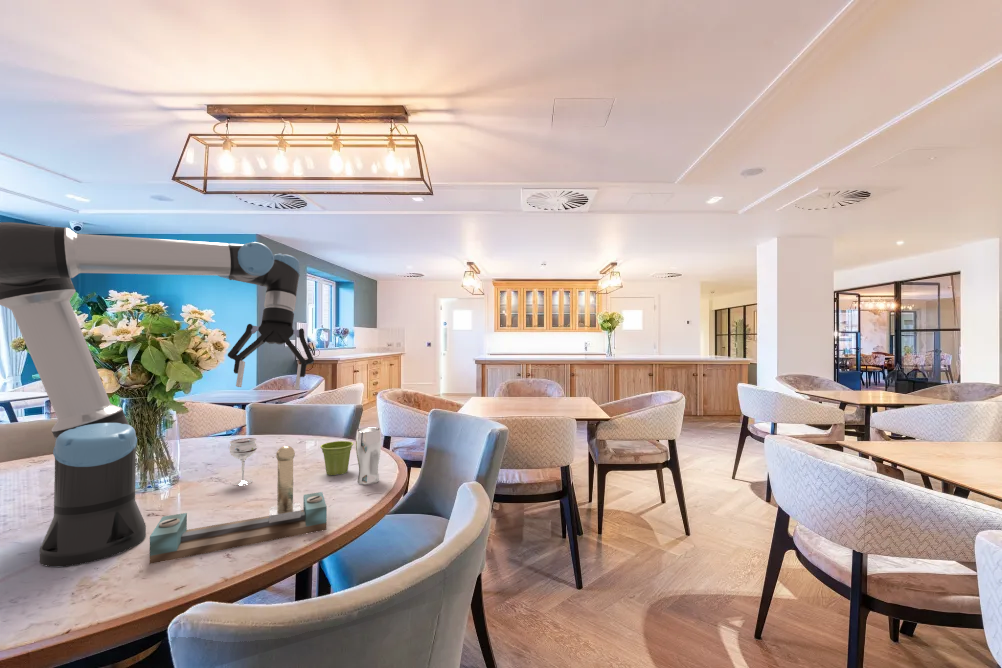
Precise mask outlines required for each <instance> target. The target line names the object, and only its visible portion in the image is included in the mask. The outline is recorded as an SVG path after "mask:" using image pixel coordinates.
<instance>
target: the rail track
mask: <svg viewBox="0 0 1002 668" xmlns="http://www.w3.org/2000/svg"><path fill="white" fill-rule="evenodd" d="M327 507H328V506H327V503H326V500H325V496H324V494H323V491H318V492H314V493H313V492H311V493H306V494H303V509H301V517H300V518H295V519H289V520H283V521H278V522H272V523H269V515H267V516H261V517H254V518H248V519H243V520H237V521H229V522H224V523H219V524H214V525H213V524H212V525H207V526H202V527H195V528H190V529H188V527H187V525H188V516H187V515H188V513H187V512H185V513H184V512H183V513H179V514H177V513H176V514H170V515H165V516H162V517H161V519H160V520H159V522H158V523H157V525H156V526H155V528H154V529H153V531H152V533H150V536H149V559H148V560H149V565H154V564H157V563H158V564H159V563H163V562H169V561H173V560H179V559H184V558H189V557H195V556H199V555H204V554H209V553H215V552H219V551H220V552H221V551H224V550H230V549H234V548H235V549H236V548H241V547H246V546H251V545H256V544H261V543H266V542H267V543H268V542H271V541H276V540H281V539H287V538H292V537H297V536H301V535H302V534H303V535H307V534H306V533H308V534H312V533H311V532H313V533H317V532H316V531H318V532H323V531H326V530H327V529H328V528H327V525H328V524H327V522H328V521H327ZM322 530H323V531H322Z"/></svg>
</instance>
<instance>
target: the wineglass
mask: <svg viewBox="0 0 1002 668" xmlns="http://www.w3.org/2000/svg"><path fill="white" fill-rule="evenodd" d="M256 441H257V438H254V437H245V438H243V437H242V438H237V439H233V440H230V441H229V444H230V445H229V453H230V455H231V456H232V457H233V458H235V459H238V460H239V461H240V462H241V477H242V478H241V480H238V481H234V482H233V483H232V485H233V484H234V485H233V486H236V485H239V486H244V485H243V484H246V485H248V484H247V483H250V482H252V479H245V464H246V463H245V462H246V460H247V459H248V458H250V457H251V456H253V454H254V453H256V451H257V448H258V447H257V446H258V445H257V442H256ZM252 483H253V482H252ZM250 484H251V483H250Z"/></svg>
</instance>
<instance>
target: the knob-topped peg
mask: <svg viewBox="0 0 1002 668" xmlns="http://www.w3.org/2000/svg"><path fill="white" fill-rule="evenodd" d="M295 454H296V452H295V449H294V448H293V447H292V446H290V445H284V446H281V447H279V448H278V449H277V451H276V454H275V457H276V460H277V490H276V491H277V495H276V497H277V499H276V500H277V502H276V503H277V505H275V506H270V507H269V512H268V513H269V514H268V516H269V523H272V522H278V521H283V520H289V519H295V518H300V517H301V510H302V508H301V502H295V503H294V458H295Z"/></svg>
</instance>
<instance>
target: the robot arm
mask: <svg viewBox="0 0 1002 668" xmlns="http://www.w3.org/2000/svg"><path fill="white" fill-rule="evenodd" d="M300 271H301V263H300V261H299V260H298V259H297V258H296V256H293V255H291V254H290V255H289V254H282V253H276V254H273V251H272V250H271V249H270V248H269V247H268V246H267V245H265V244H263V243H261V242H256V241H254V242H253V241H252V242H246V243H244V244H242V243H241V244H240V243H227V242H209V241H196V240H195V241H193V240H182V239H181V240H180V239H179V240H177V239H166V238H165V239H164V238H149V237H134V236H133V237H132V236H117V235H103V234H101V235H100V234H90V233H89V234H87V233H86V234H85V233H76V232H74V231H73V230H71V228H68V227H63V226H62V227H61V226H50V225H41V224H31V223H30V224H29V223H23V222H22V223H21V222H20V223H19V222H11V221H10V222H9V221H8V222H7V221H6V222H0V306H2V307H3V308H7V309H8V310H10V311H11V313H12V315H13V317H14V319H15V322H16V324H17V326H18V329H19V331H20V333H21V336H22V338H23V340H24V343H25V345H26V347H27V350H28V352H29V355H30V358H31V359H32V361H33V364H34V366H35V369H36V371H37V373H38V376H39V378H40V380H41V383H42V386H43V387H44V391H45V392H46V395H47V398H48V399H49V402H50V403H51V406H52V409H53V412H54V414H55V415H56V418H57V421H56V422H55V424H54V425H53V426H52V428H51V432H52V435H53V438H54V439H55V442H54V447H53V449H52V451H53V452H52V454H53V456H54V483H53V484H54V488H53V489H54V490H53V516H52V517H53V518H52V520H51V522H50V525H49V527H48V529H47V531H46V534H45V536H44V538H43V541H42V543H41V546H40V548H39V563H40V564H41V565H42V564H43V565H42V566H44V565H47V566H46V567H50V566H63V567H69V566H79V565H82V564H89V563H92V562H96V561H100V560H104V559H107V558H110V557H113V556H116V555H119V554H121V553H124V552H125V551H127V550H128V551H129V550H130V549H132V548H134V547H136V546H137V545H138V544H141V542H143V541H144V539H145V538H146V536H147V525H146V522H145V519H144V518H143V516H142V513H141V510H140V507H139V506H138V503H137V501H136V470H137V469H136V466H137V463H136V462H137V461H136V459H137V457H136V456H137V453H136V452H137V443H138V437H137V434H136V430H135V428H134V427H133V426H132V425H130V424H129V421H128V419H127V417H126V414H125V412H124V409H123V408H122V407H120V406H117V405H115V404H112V403H111V402H110V399H109V396H108V393H107V391H106V388H105V387H104V384H103V381H102V379H101V376H100V373H99V371H98V368H97V366H96V364H95V361H94V359H93V357H92V353H91V351H90V349H89V346H88V344H87V341H86V338H85V337H84V334H83V332H82V328H81V327H80V323H79V322H78V319H77V316H76V313H75V311H74V309H73V306H72V303H71V299H72V297H73V296H74V295H75V293H76V292H77V291H76V289H75V286H74V284H73V282H72V281H73V280H72V279H74V278H75V277H76V276H78V275H79V274H117V275H118V274H124V275H129V274H130V275H135V274H136V275H168V276H169V275H173V276H174V275H176V276H177V275H178V276H179V275H182V276H183V275H184V276H217V277H219V278H223V279H227V280H229V281H238V282H241V283H246V284H252V285H257V286H261V287H266V289H265V297H264V304H263V307H264V309H263V311H262V317H261V323H260V325H259V326H257V325H253V324H252V323H248V324H247V325H246V327H245V331H244V332H243V334H242V335H241V336H240V338H239V339H238V341H237V342H236V343H235V344H234V345H233V346H232V348H231V349H230V350H229V352H228V353H227V357H228V358H229V359H231V360H234V366H233V373H234V374H237V376H236V383H235V386H236V387H237V388H242V385H243V378H244V372H245V366H246V362H245V361H244V360H245V359H246V358H247V357H248V356H250V355H251V354H252V353H254V351H256V350H257V349H258V348H260V347H261V346H262V345H264V344H265V343H267V344H269V345H273V344H275V345H283V344H286V346H287V348H289V350H291V352H292V353H293V355H294V356H295V357H296V359H297V360H298V361H299V362H300V363H297V372H296V378H295V384H294V385H295V386H294V389H295V390H297V391H299V390H300V384H301V378H305V376H306V372H307V371H306V370H307V366H308V365H312V364H314V363H315V359H314V357H313V355H312V353H311V350H310V347H309V346H308V343H307V341H306V338H305V330H304V328H301V327H300V328H298V329H293V325H294V319H295V318H294V317H295V313H294V312H295V310H296V301H297V291H298V288H299V287H298V285H299V279H300V277H301V275H300V273H301V272H300ZM257 332H259V333H260V336H258V338H256V340H254V341H253V342H252V343H251V344H249V345H248V346H247V347H246V348H244V349H243V347H244V346H245V345H246V344H247V342H248V341H249V339H251V336H252V335H254V334H255V333H257ZM294 335H295V336H296V338H298V339H299V340H300V343H301V346H302V348H303V350H304V354H305V355H306V358H307V359H305V358H304V357H303V355H302V354H301V353H300V351H299V350H298V349H297V348H296V346H295V345H294V343H293V342H292V341H291V340H290V338H291V337H292V336H294ZM242 349H243V350H242ZM241 350H242V351H241Z"/></svg>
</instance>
